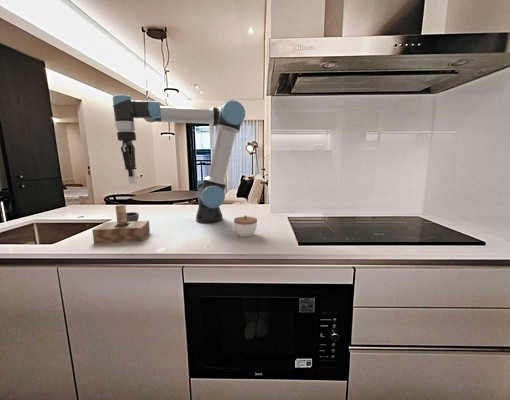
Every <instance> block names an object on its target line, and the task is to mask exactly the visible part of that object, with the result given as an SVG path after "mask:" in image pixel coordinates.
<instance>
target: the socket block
mask: <svg viewBox="0 0 510 400" xmlns="http://www.w3.org/2000/svg"><path fill="white" fill-rule="evenodd" d="M150 231H151V230H150V221H149V220H138V221H129V222H127V226H125V227H118V225H117V221H108V222H106V221H105V222H103V223H102V224H99V225H98V226H96V227H95V228H93V229H92V231H91V232H92V238H93V244H105V243H125V242H126V243H127V242H143V241H144V240H145V239H146V238H147V237H148V236H149V234H150V233H151V232H150Z"/></svg>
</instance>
